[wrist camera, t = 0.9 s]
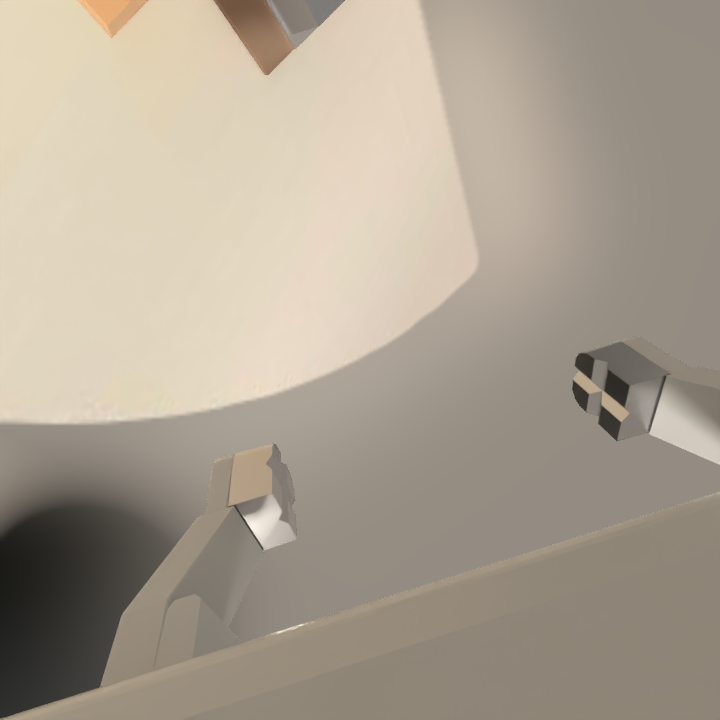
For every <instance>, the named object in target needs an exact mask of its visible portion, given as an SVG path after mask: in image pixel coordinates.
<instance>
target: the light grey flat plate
mask: <svg viewBox="0 0 720 720" xmlns="http://www.w3.org/2000/svg"><path fill="white" fill-rule="evenodd" d="M264 1H265V3H266V5H267V6H268V8H269V10H270V11H271V13H272V15H273V16H274V18H275V20H276V21H277V23H278V24H279V26H280V28H281V29H282V31H283V33H284V34H285V36H286V38H287V39H288V41H289V43H290V44H291V46H292V47H293V49H296V48H297V47H298V46H299V45H300V44H301V43H302V42H303V41H304V40H305V39H306V38H307V37H308V36H309V35H310V34H311V33H312V32H313V31H314V30H315V29H316V28H317V27H316V28H312V29H309V30H306V31H302V32H299V33H296V34H293V35H290V33H289V32H288V30H287V28H286V27H285V25H284V23H283V22H282V20H281V18H280V17H279V15H278V13H277V12H276V10H275V8H274V7H273V5H272V3H271V2H270V0H264Z"/></svg>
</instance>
